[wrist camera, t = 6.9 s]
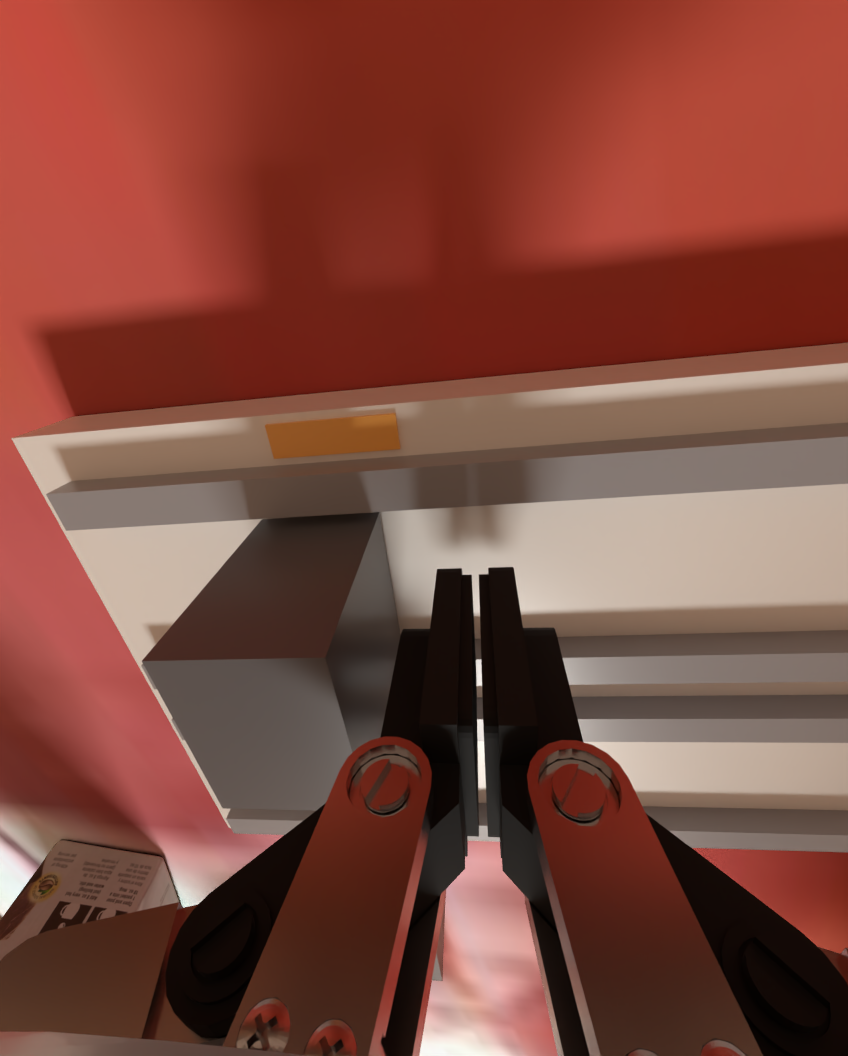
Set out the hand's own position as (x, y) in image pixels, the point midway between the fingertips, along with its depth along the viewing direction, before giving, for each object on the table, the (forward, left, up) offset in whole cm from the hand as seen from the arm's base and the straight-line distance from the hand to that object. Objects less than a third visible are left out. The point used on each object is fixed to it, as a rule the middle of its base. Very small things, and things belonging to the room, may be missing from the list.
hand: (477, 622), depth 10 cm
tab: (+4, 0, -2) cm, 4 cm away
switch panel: (-1, +4, -4) cm, 6 cm away
